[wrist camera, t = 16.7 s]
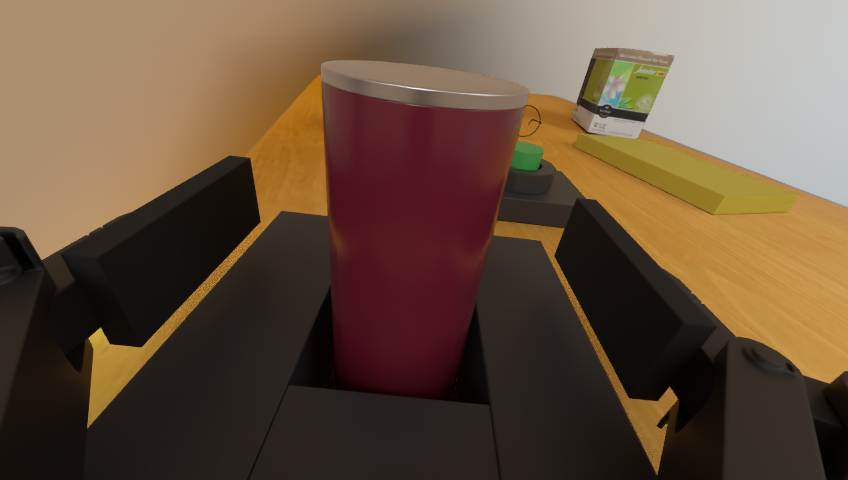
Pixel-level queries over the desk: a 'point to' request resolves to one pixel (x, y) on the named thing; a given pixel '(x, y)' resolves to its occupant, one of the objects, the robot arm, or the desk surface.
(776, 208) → the flat olive board
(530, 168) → the button
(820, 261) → the desk surface
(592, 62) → the tea box
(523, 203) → the panel
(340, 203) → the dark red cylinder
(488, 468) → the square peg hole block
